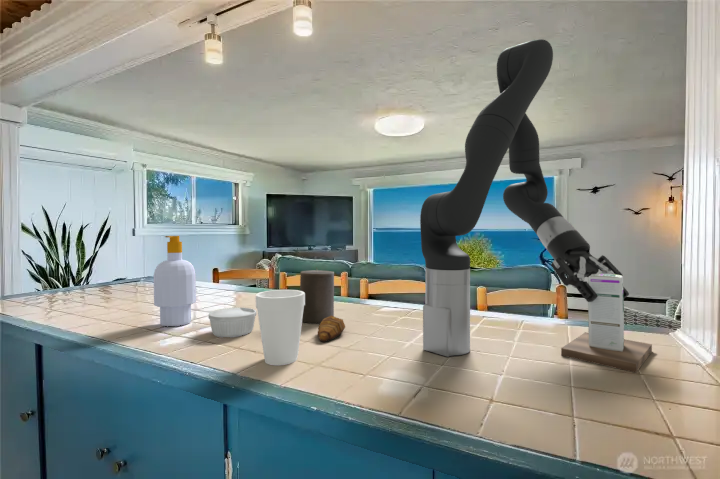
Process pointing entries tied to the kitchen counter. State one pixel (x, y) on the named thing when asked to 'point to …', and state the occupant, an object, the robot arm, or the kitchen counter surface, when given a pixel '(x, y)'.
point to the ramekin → (232, 321)
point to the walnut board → (609, 353)
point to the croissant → (330, 328)
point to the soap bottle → (174, 286)
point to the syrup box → (606, 312)
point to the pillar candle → (317, 295)
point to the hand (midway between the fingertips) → (609, 298)
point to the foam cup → (280, 324)
